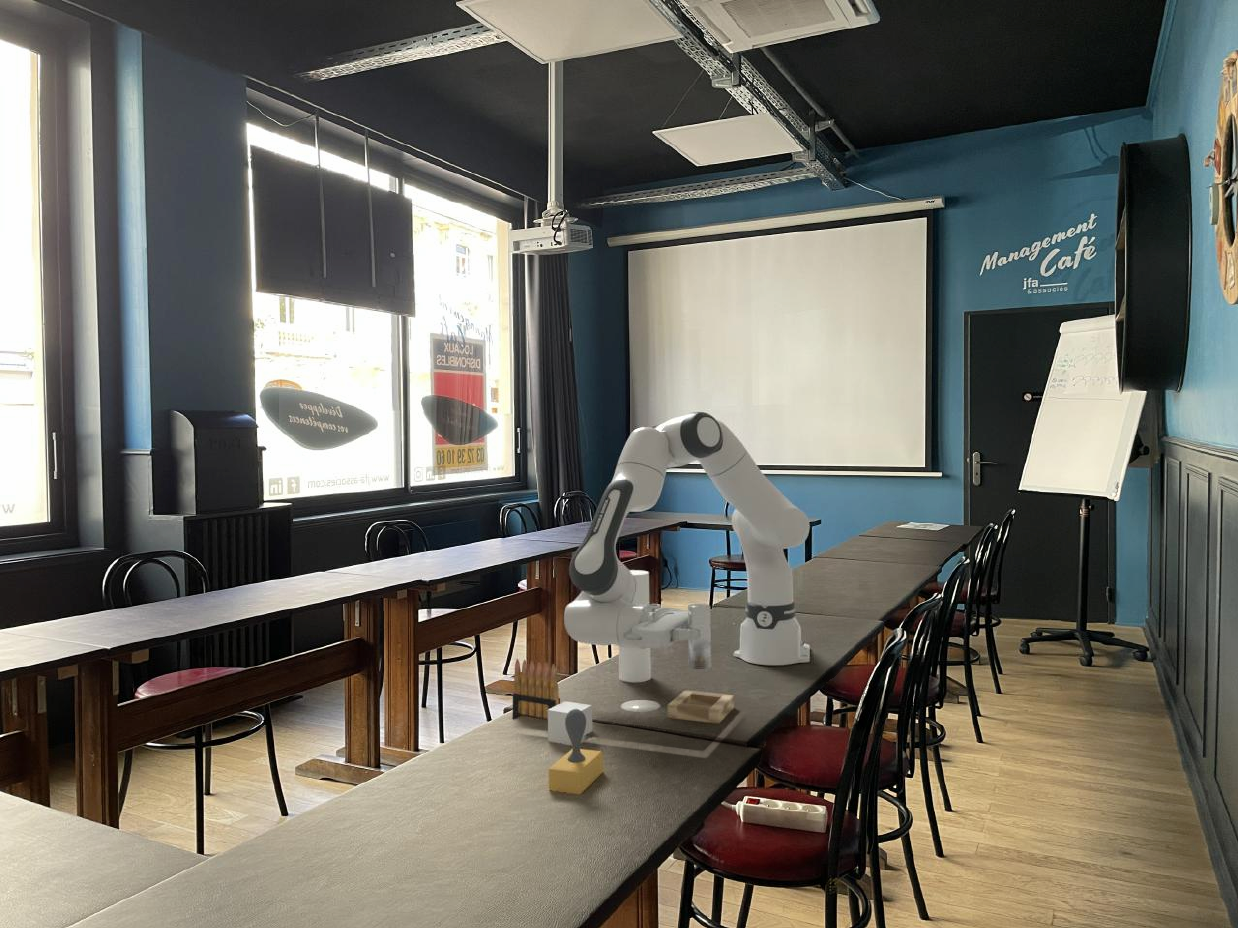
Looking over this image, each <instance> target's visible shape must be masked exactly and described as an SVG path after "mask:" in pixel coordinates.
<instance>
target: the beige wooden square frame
mask: <svg viewBox="0 0 1238 928" xmlns="http://www.w3.org/2000/svg"><path fill="white" fill-rule="evenodd" d="M666 706H667V707H666V708H667V709H666V710H667V718H668V719H675V720H685V721H691V722H692V721H693V722H701V723H702V722H703V723H710V724H711V723H712V724H721V722H722V721H723V720H724V719H725V718H726V717H727V716H728V715H729V714H730V713H731V712H732V711H733V710H734V708H735V695H734V694H727V693H726V694H723V693H716V692H715V693H714V692H706V691H705V692H704V691H694V690H692V691H691V690H684V691H682V692H681V693H680V694H679V695H677V696H676V697H674V699H673V700H671V701H670V702H669V703H668V704H666Z"/></svg>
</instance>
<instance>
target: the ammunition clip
mask: <svg viewBox="0 0 1238 928" xmlns="http://www.w3.org/2000/svg"><path fill="white" fill-rule="evenodd" d="M515 660H516V661H515V662H514V678H513V693H512V719H513V720H516V719H518V718H520V717H522V716H525V717H530V718H535V719H542V720H545V721H546V720H547V721H548V709H550V708H552V707H554V706H556V705H558V704H560V703H561V698H560V696H559V684H558V675H557V674H558V673H557V672H558V670H557V667H556V665H555V663H552V666H551V670H550V668H549V664H548V663H547V662H545V664H544V668H543V667H542V664H541V662H540V661H538V662H537V664H536V665H537V666H536V667H535V663H534V661H533V660H531V661H530V662H529V663H530V664H529V668H528V664H527V660H526V659H524V660H523V662H522V666H521V664H520V663H521V662H520V660H519V658H516V659H515Z"/></svg>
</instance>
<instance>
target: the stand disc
mask: <svg viewBox="0 0 1238 928" xmlns="http://www.w3.org/2000/svg"><path fill="white" fill-rule="evenodd" d="M620 708H621V709H622V710H625V711H626V712H633V713H646V712H647V713H648V712H649V713H650V712H653V711H656V710H659V708H661V704H660V703H659V702H657V701H653V700H650V699H649V700H647V699H635V700H629V701H625V702H624V703H622V704H621V705H620Z"/></svg>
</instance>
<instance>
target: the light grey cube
mask: <svg viewBox="0 0 1238 928" xmlns="http://www.w3.org/2000/svg"><path fill="white" fill-rule="evenodd" d="M573 709H579V710H581V711H582V712H583V713H584V714H585V717H586V728H585V731H584V734H583V737H582V740H581V744H583V743H584V742H585V741H587V740H589V739H590V738H592V737H593V735H588V734H590V733H592V732H593V706H592V704H586V703H579V702H572V701H565V700H564V701H563V702H560V704H558V705H556V706H554V707H552V708H550V709H548V720H547V732H548V733H547V734H548V735H547V740H548V742H550V743H555V742H556V743H555V744H560V743H561V745H566V746H571V747H572V743H571V740H570V738H569V735H568V733H567V730H566V726H565V719H566V716H567V714H568V712H569V711H571V710H573Z"/></svg>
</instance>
